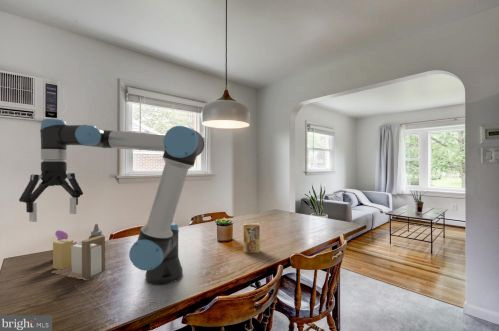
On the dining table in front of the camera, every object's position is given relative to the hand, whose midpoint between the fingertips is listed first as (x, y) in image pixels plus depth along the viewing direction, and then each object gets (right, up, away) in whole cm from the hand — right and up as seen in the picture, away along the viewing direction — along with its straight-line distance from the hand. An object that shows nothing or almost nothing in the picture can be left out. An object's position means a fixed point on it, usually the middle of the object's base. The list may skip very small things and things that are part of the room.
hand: (54, 217), depth 90 cm
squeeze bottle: (-5, -29, +32) cm, 43 cm away
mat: (-3, -29, +18) cm, 34 cm away
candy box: (+75, -29, +43) cm, 91 cm away
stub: (-14, -28, +22) cm, 38 cm away
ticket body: (+1, -28, +17) cm, 33 cm away
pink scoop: (-22, -29, +34) cm, 50 cm away
